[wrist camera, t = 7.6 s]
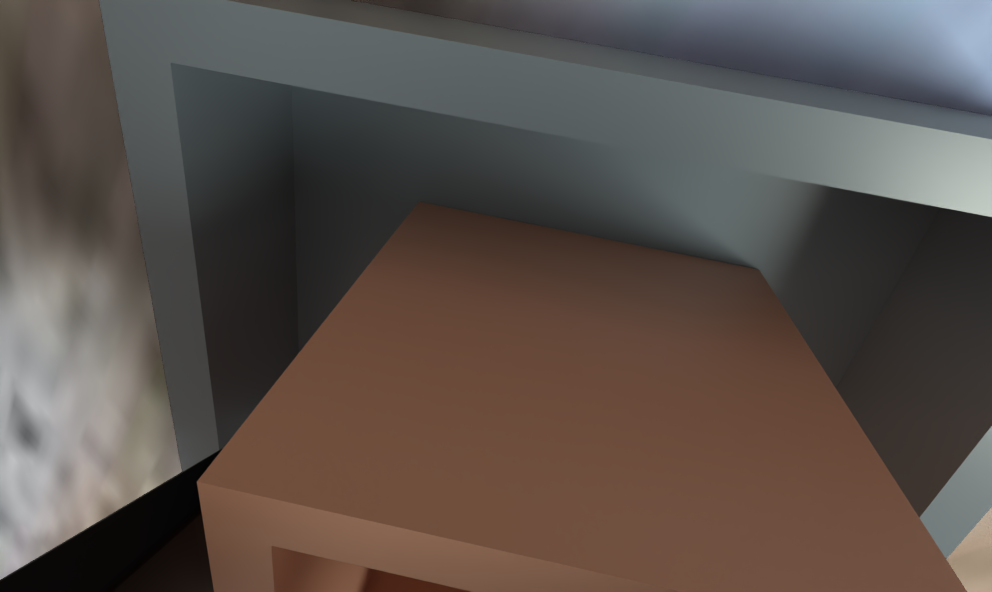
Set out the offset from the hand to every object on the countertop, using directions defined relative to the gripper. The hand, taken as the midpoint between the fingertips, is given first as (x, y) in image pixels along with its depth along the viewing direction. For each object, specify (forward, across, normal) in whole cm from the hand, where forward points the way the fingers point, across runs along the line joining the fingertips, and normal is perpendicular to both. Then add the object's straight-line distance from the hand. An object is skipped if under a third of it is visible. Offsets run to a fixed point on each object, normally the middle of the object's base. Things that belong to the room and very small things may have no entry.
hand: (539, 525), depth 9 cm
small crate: (+4, 0, 0) cm, 4 cm away
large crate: (+5, 0, 0) cm, 5 cm away
